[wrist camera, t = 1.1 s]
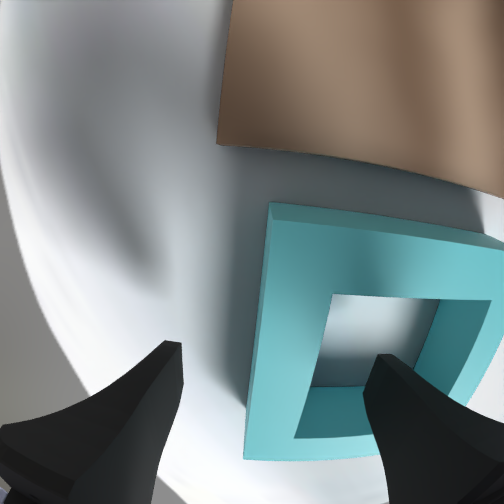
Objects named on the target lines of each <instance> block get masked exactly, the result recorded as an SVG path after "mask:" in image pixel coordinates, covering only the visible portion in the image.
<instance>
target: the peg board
mask: <svg viewBox="0 0 504 504" xmlns="http://www.w3.org/2000/svg"><path fill="white" fill-rule="evenodd" d="M216 144H218V145H222V146H237V147H250V148H261V149H272V150H281V151H290V152H298V153H306V154H313V155H320V156H327V157H334V158H340V159H346V160H352V161H358V162H363V163H368V164H374V165H379V166H384V167H389V168H393V169H398V170H402V171H407V172H411V173H415V174H420V175H424V176H428V177H432V178H436V179H439V180H443V181H447V182H450V183H454V184H458V185H461V186H464V187H468V188H471V189H474V190H478V191H481V192H484V193H487V194H490V195H493V196H496V197H499V198H502V199H504V0H233V5H232V12H231V18H230V25H229V33H228V40H227V48H226V56H225V64H224V72H223V81H222V90H221V100H220V109H219V120H218V130H217V141H216Z"/></svg>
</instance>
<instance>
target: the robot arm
mask: <svg viewBox="0 0 504 504" xmlns="http://www.w3.org/2000/svg"><path fill="white" fill-rule="evenodd" d="M183 385H184V382H183V365H182V344H181V343H180V342H173V341H166V340H165V341H163V342H162V343H161V344H160V345H159V346H158V347H156V348H155V349H154V350H153V351H152V352H151V353H150V354H149V355H147V356H146V357H145V358H144V359H143V360H142V361H140V362H139V363H138V364H137V365H136V366H134V367H133V368H132V369H131V370H129V371H128V372H127V373H126V374H124V375H123V376H122V377H120V378H119V379H117V380H116V381H115V382H113V383H112V384H110V385H109V386H107V387H106V388H104V389H103V390H101V391H100V392H98V393H96V394H94V395H93V396H91V397H89V398H87V399H85V400H83V401H81V402H79V403H77V404H74V405H72V406H70V407H68V408H65V409H63V410H60V411H58V412H55V413H52V414H49V415H46V416H42V417H40V418H35V419H32V420H27V421H22V422H17V423H11V424H5V425H2V427H1V428H0V476H1V477H2V479H4V481H5V482H6V483H7V484H8V485H9V486H10V487H11V489H10V491H9V493H7V492H6V491H5V490H4V489H2V488H1V487H0V504H151V500H152V495H153V489H154V484H155V479H156V475H157V470H158V465H159V462H160V458H161V455H162V452H163V449H164V446H165V444H166V441H167V438H168V435H169V432H170V430H171V427H172V424H173V421H174V419H175V416H176V413H177V410H178V407H179V403H180V399H181V394H182V390H183ZM362 394H363V399H364V405H365V410H366V414H367V418H368V421H369V423H370V426H371V429H372V432H373V435H374V438H375V441H376V444H377V447H378V449H379V452H380V455H381V458H382V462H383V466H384V470H385V475H386V481H387V487H388V495H389V504H504V423H501V422H498V421H495V420H493V419H490V418H488V417H485V416H483V415H481V414H479V413H476V412H474V411H472V410H470V409H469V408H467V407H465V406H463V405H461V404H460V403H458V402H456V401H455V400H453V399H452V398H450V397H449V396H447V395H446V394H444V393H443V392H441V391H440V390H438V389H437V388H436V387H434V386H433V385H432V384H430V383H429V382H428V381H426V380H425V379H424V378H422V377H421V376H420V375H419V374H417V373H416V372H415V371H414V370H412V369H411V368H410V367H409V366H407V365H406V364H405V363H403V362H402V361H401V360H399V359H398V358H397V357H395V356H394V355H392V354H378V355H377V358H376V360H375V363H374V366H373V368H372V371H371V373H370V376H369V378H368V381H367V383H366V386H365V388H364V391H363V393H362Z"/></svg>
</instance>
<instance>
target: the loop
mask: <svg viewBox="0 0 504 504" xmlns="http://www.w3.org/2000/svg"><path fill="white" fill-rule="evenodd" d="M332 294H344V295H361V296H378V297H399V298H423V299H440V302H439V305H438V308H437V311H436V314H435V317H434V320H433V323H432V325H431V328H430V331H429V333H428V336H427V338H426V341H425V343H424V346H423V348H422V351H421V353H420V355H419V358H418V360H417V362H416V365H415V367H414V369H413V370H414V371H415V372H416V373H417V374H419V375H420V376H421V377H422V378H424V379H425V380H426V381H428V382H429V383H430V384H432V385H433V386H434V387H436V388H437V389H438V390H440V391H441V392H443V393H444V394H446V395H447V396H449V397H450V398H452V399H453V400H455V401H456V402H458V403H460V404H461V405H463V406H466V405H467V403H468V402H469V400H470V398H471V397H472V395H473V393H474V392H475V390H476V388H477V387H478V385H479V383H480V381H481V380H482V378H483V376H484V374H485V372H486V370H487V368H488V367H489V365H490V363H491V361H492V359H493V357H494V355H495V353H496V351H497V348H498V346H499V344H500V342H501V340H502V338H503V335H504V242H501V241H499V240H497V239H495V238H493V237H491V236H488V235H486V234H482V233H477V232H472V231H467V230H462V229H457V228H452V227H447V226H441V225H435V224H430V223H424V222H418V221H412V220H406V219H400V218H394V217H387V216H381V215H374V214H367V213H360V212H352V211H345V210H337V209H329V208H321V207H313V206H304V205H295V204H286V203H277V202H269V209H268V218H267V228H266V238H265V247H264V257H263V266H262V275H261V285H260V294H259V303H258V312H257V321H256V330H255V338H254V347H253V356H252V364H251V373H250V381H249V390H248V398H247V406H246V419H245V436H244V452H243V459H245V460H263V461H318V460H335V459H347V458H357V457H365V456H373V455H380V452H379V449H378V447H377V444H376V441H375V438H374V435H373V432H372V429H371V426H370V423H369V421H368V418H367V414H366V410H365V405H364V399H363V394H362V393H363V391H364V388H365V386H356V387H310V384H311V380H312V377H313V373H314V369H315V366H316V362H317V358H318V354H319V350H320V346H321V342H322V338H323V334H324V330H325V326H326V322H327V317H328V313H329V308H330V304H331V299H332Z"/></svg>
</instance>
